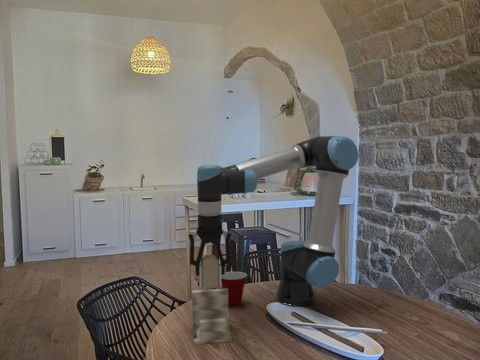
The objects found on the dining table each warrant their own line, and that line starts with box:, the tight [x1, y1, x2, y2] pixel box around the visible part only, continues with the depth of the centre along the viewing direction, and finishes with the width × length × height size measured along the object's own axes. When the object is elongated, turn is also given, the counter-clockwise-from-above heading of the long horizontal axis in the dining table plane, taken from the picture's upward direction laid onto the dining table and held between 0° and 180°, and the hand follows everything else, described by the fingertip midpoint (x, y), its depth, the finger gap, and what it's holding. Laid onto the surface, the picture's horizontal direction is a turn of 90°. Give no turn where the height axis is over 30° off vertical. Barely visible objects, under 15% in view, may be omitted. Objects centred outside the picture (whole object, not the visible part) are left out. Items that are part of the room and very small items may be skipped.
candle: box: [201, 253, 220, 289], centre depth 132 cm, size 6×6×10 cm
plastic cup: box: [221, 271, 248, 308], centre depth 158 cm, size 11×11×12 cm
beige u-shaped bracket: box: [191, 288, 233, 345], centre depth 134 cm, size 12×12×13 cm
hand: (210, 284), depth 133 cm, fingers closed on candle, 5 cm apart
